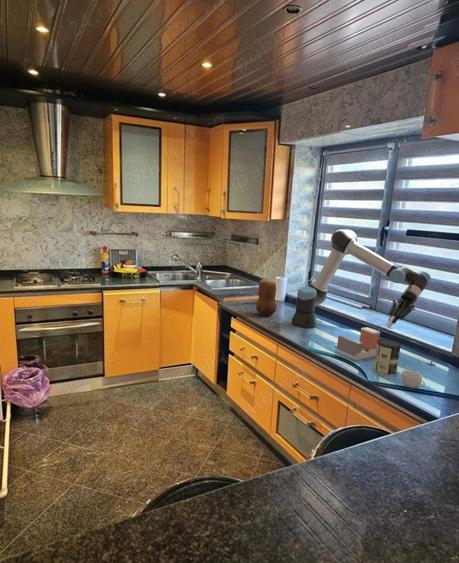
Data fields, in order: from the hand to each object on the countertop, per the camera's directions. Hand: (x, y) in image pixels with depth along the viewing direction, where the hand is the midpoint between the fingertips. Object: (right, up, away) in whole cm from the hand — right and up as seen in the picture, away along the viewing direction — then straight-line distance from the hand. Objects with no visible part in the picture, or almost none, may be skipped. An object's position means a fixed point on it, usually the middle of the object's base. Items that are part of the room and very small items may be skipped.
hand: (387, 326), depth 204 cm
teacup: (-8, -20, -44) cm, 49 cm away
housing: (-17, -13, -7) cm, 22 cm away
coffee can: (-14, -17, -29) cm, 37 cm away
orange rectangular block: (-12, -11, -4) cm, 17 cm away
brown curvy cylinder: (-61, +1, +53) cm, 81 cm away
